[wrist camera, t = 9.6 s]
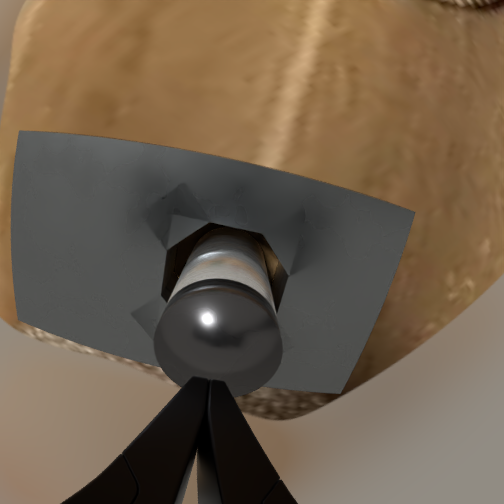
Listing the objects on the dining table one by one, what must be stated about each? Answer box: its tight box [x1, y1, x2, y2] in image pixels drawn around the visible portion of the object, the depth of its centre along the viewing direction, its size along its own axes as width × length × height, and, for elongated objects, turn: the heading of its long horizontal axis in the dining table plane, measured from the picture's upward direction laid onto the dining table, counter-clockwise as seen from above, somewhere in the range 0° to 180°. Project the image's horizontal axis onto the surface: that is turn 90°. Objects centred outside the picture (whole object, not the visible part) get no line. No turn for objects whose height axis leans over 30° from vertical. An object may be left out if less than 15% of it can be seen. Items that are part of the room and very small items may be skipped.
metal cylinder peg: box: [154, 227, 283, 397], centre depth 13 cm, size 4×4×8 cm
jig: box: [11, 131, 415, 394], centre depth 15 cm, size 20×11×3 cm, turn 77°
